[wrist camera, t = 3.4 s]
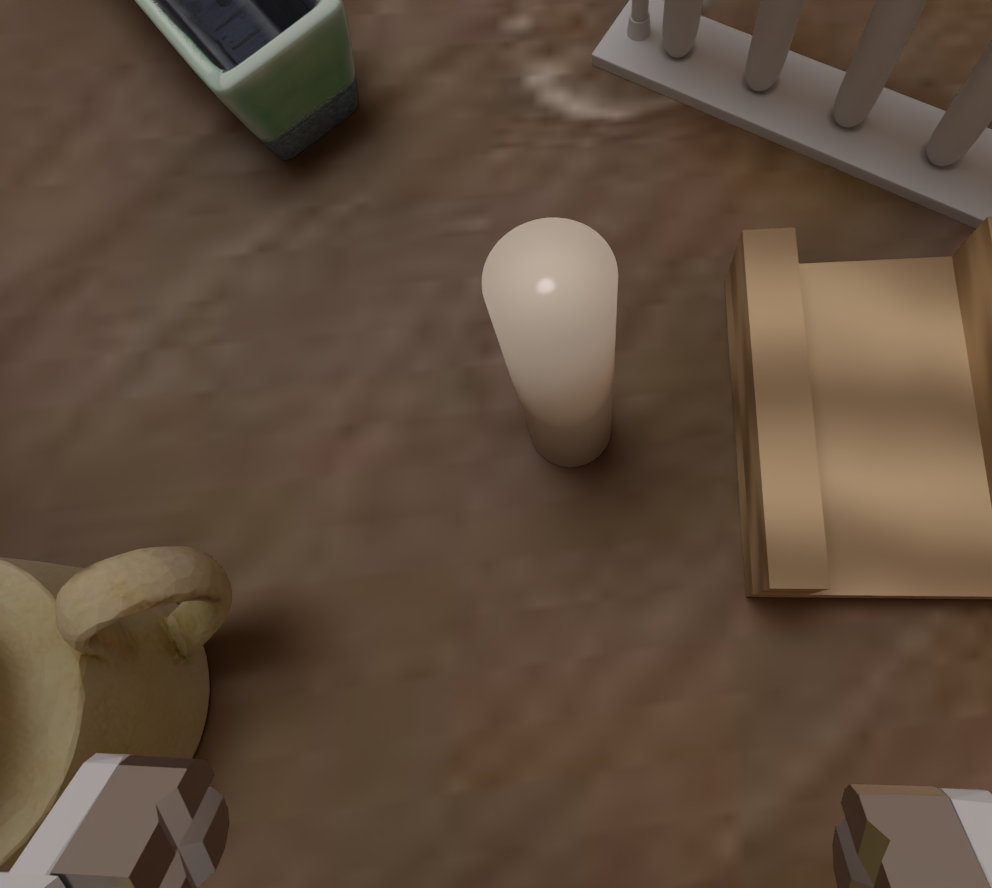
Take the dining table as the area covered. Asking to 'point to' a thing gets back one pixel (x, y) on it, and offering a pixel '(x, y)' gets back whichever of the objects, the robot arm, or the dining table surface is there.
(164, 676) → the sugar bowl
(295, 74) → the planter
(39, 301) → the dining table surface
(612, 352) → the clay rod
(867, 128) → the test tube rack
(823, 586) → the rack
